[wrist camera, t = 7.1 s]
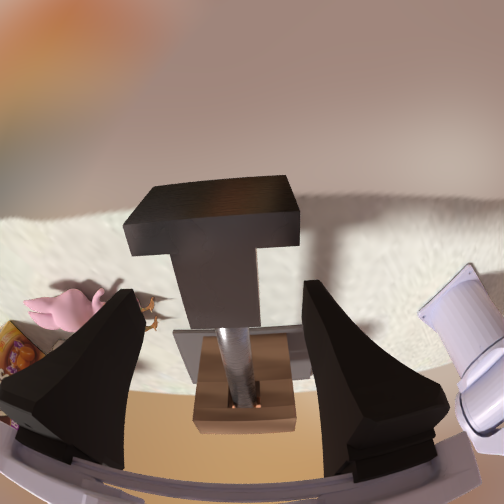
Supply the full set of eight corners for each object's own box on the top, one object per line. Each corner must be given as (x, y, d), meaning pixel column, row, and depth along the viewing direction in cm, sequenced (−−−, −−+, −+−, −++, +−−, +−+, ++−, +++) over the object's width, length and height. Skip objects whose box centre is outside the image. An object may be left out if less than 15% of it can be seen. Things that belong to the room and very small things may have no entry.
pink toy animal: (153, 272, 25) (21, 274, 22) (147, 319, 20) (-2, 313, 17) (161, 320, 28) (41, 317, 25) (159, 366, 23) (25, 357, 21)
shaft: (284, 377, 24) (288, 420, 20) (207, 379, 24) (203, 422, 20) (285, 175, 14) (300, 211, 11) (153, 186, 15) (122, 225, 11)
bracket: (285, 351, 28) (294, 431, 21) (208, 354, 28) (200, 433, 21) (286, 332, 27) (296, 417, 19) (203, 336, 27) (192, 420, 19)
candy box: (1, 325, 29) (-41, 403, 16) (9, 318, 28) (-38, 403, 15) (41, 364, 33) (9, 443, 20) (52, 360, 32) (18, 446, 19)
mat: (309, 376, 32) (309, 378, 31) (193, 381, 32) (193, 383, 32) (316, 323, 27) (317, 326, 26) (173, 330, 27) (172, 333, 27)
